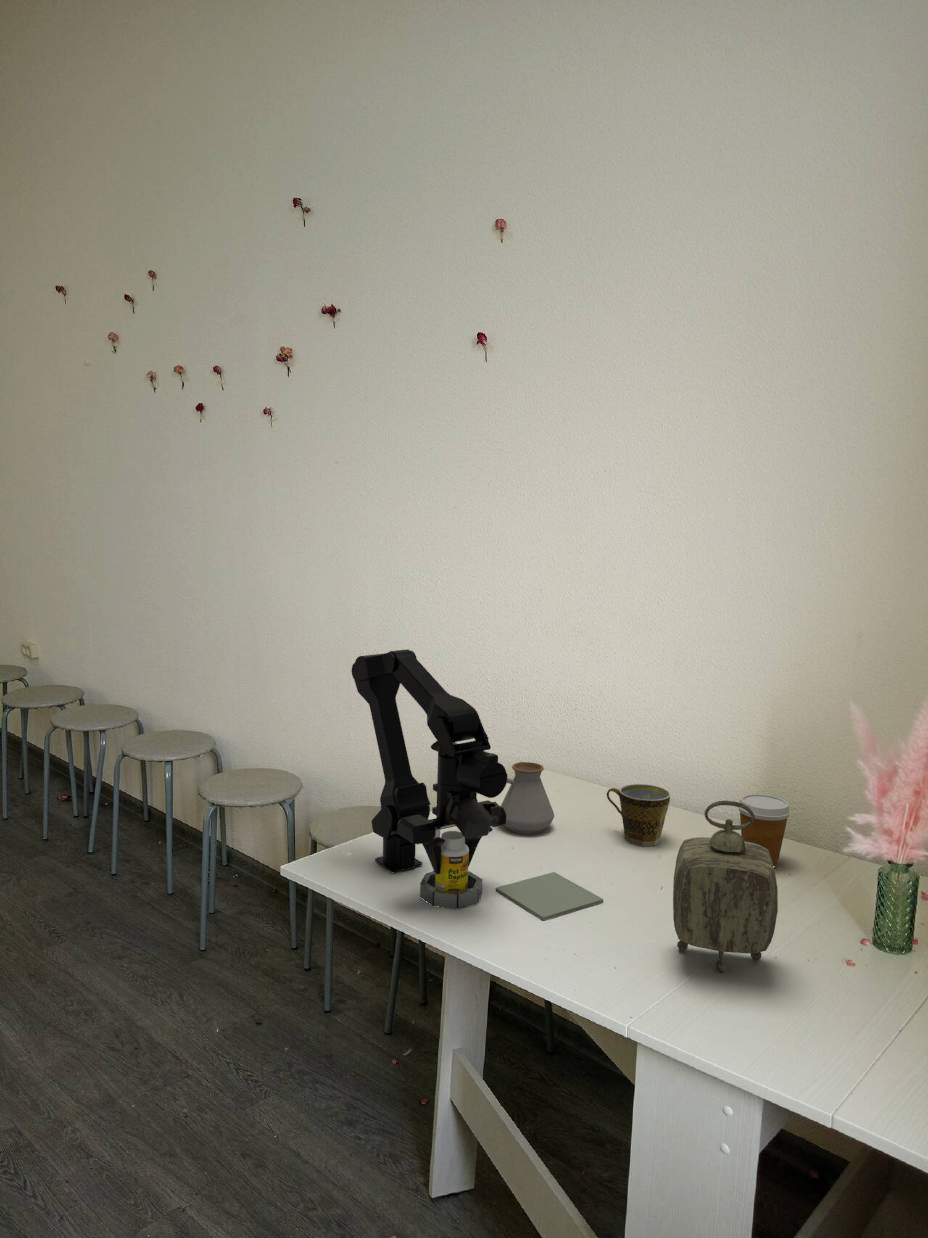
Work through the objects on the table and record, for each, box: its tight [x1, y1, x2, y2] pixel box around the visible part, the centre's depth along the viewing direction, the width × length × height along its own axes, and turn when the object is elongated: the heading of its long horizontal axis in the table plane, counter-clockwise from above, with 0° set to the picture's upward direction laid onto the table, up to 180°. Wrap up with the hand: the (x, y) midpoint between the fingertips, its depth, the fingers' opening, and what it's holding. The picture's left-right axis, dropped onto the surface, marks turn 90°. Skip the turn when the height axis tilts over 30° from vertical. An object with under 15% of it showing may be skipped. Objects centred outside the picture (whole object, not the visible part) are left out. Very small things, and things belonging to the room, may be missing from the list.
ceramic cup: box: [606, 783, 671, 847], centre depth 187 cm, size 13×10×10 cm
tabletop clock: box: [672, 800, 779, 973], centre depth 137 cm, size 14×9×25 cm, turn 77°
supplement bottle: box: [435, 830, 469, 892], centre depth 159 cm, size 6×6×10 cm
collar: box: [419, 870, 483, 910], centre depth 159 cm, size 10×10×2 cm
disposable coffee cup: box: [737, 793, 792, 866], centre depth 177 cm, size 10×10×12 cm
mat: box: [495, 871, 604, 922], centre depth 160 cm, size 13×13×1 cm
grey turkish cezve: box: [500, 761, 555, 835], centre depth 189 cm, size 21×12×15 cm, turn 113°
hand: (451, 869), depth 159 cm, fingers closed on supplement bottle, 6 cm apart
